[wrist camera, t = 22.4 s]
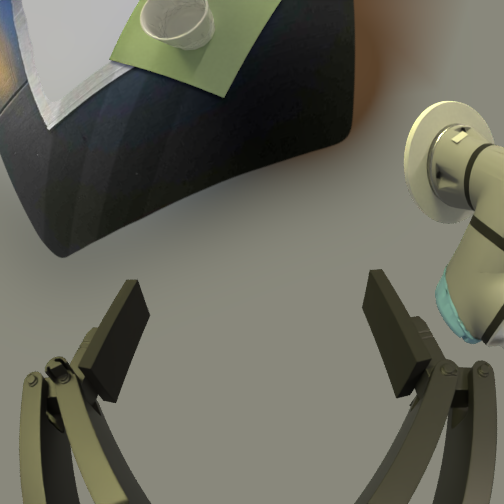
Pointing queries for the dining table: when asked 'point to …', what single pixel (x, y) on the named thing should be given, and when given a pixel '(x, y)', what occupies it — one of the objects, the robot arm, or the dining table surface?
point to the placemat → (204, 58)
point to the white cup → (178, 22)
